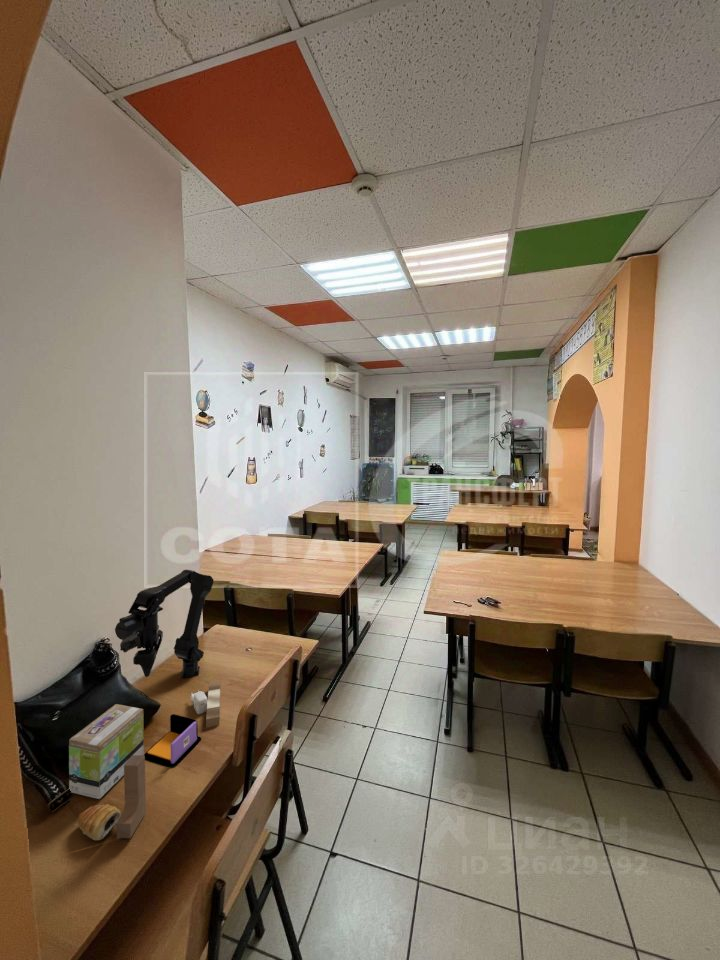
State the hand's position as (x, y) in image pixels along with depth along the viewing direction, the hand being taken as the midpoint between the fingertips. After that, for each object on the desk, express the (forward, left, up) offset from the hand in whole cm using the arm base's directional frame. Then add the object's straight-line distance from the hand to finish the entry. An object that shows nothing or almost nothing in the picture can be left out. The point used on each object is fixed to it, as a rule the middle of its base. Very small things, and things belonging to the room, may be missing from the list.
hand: (149, 669), depth 134 cm
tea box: (+30, -5, -12) cm, 33 cm away
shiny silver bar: (+10, +21, -12) cm, 27 cm away
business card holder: (+26, +10, -12) cm, 30 cm away
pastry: (+44, -3, -13) cm, 45 cm away
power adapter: (+8, +16, -12) cm, 22 cm away
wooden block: (+49, +4, -12) cm, 50 cm away
